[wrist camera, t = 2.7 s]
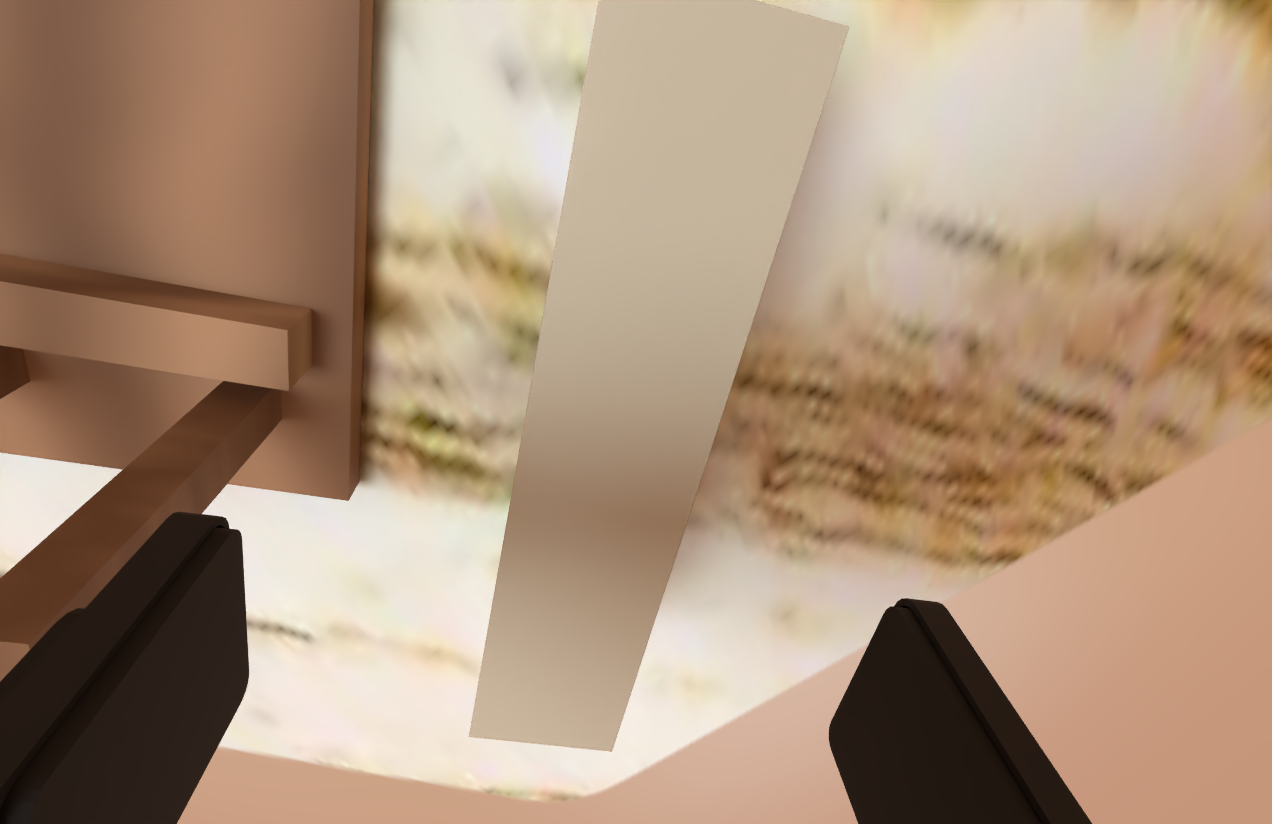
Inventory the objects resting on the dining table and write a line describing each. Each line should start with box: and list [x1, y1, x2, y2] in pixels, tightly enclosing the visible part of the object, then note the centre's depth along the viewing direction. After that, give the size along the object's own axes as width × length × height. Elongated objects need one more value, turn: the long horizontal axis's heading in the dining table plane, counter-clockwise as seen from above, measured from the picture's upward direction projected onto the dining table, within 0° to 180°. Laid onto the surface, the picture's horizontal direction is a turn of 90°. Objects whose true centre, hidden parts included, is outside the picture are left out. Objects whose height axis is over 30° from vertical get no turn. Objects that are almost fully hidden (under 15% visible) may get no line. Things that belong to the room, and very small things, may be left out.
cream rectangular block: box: [469, 0, 849, 752], centre depth 16 cm, size 16×4×7 cm, turn 167°
